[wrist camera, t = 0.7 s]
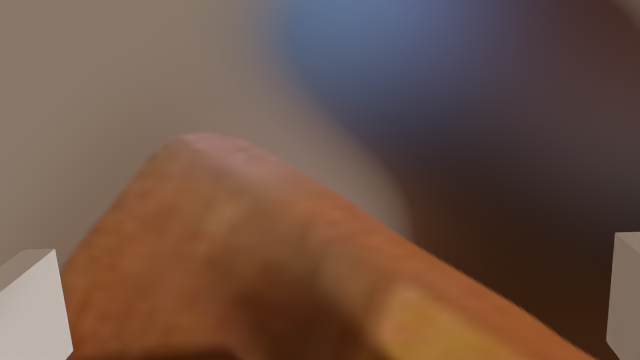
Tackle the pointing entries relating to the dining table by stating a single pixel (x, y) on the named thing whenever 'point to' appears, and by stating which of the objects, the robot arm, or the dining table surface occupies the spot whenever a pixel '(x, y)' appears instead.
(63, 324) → the robot arm
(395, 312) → the dining table surface
